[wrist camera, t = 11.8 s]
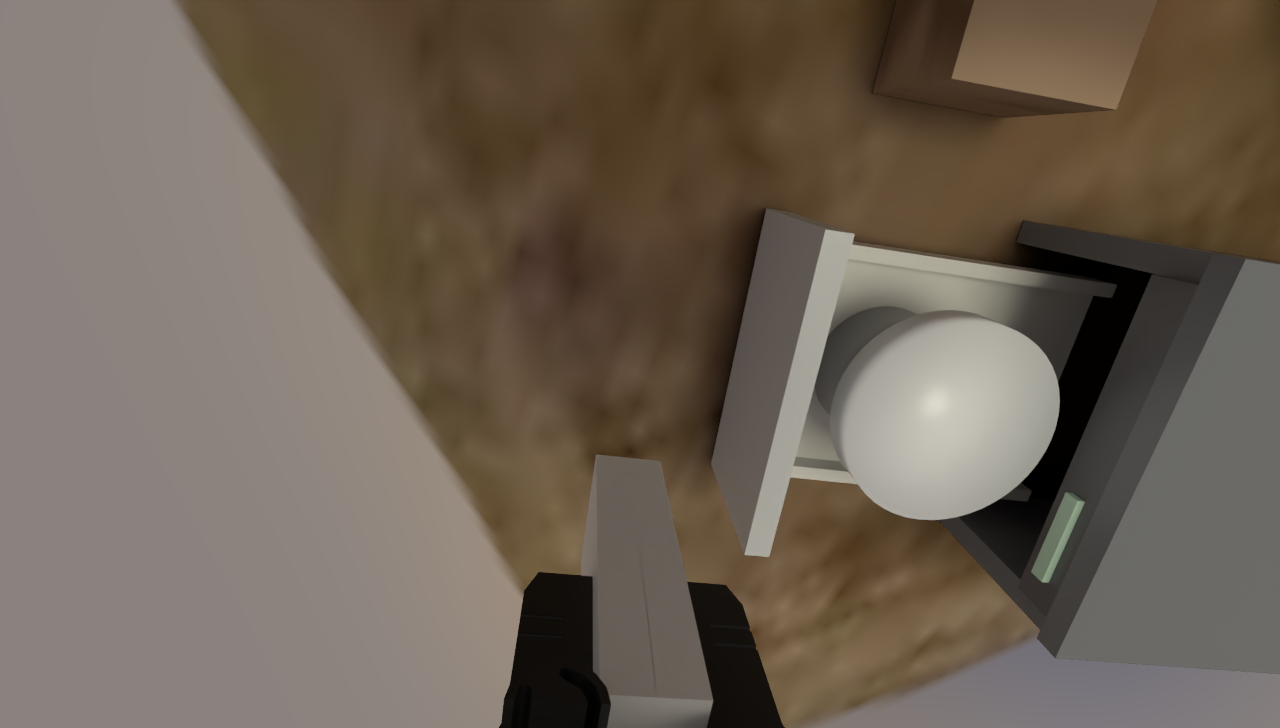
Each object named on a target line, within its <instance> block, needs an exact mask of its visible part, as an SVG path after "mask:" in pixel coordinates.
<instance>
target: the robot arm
mask: <svg viewBox="0 0 1280 728" xmlns="http://www.w3.org/2000/svg"><path fill="white" fill-rule="evenodd" d="M499 728H785V727H783V724H782V722H781V720H780V717H779V714H778V711H777V708H776V705H775V702H774V699H773V696H772V693H771V690H770V687H769V684H768V681H767V678H766V675H765V672H764V669H763V666H762V662H761V659H760V656H759V653H758V650H756V644H755V641H754V638H753V635H752V632H750V626H749V623H748V620H747V617H746V614H745V611H744V608H743V605H742V604H741V603H740V602H739V600H738V599H737V598H736V597H735V596H734V594H733V593H732V592H731V591H730V590H729V589H728V587H727V586H726V585H719V584H707V583H694V582H687V580H686V575H685V571H684V566H683V562H682V557H681V552H680V548H679V543H678V539H677V534H676V530H675V525H674V521H673V516H672V512H671V507H670V503H669V498H668V494H667V489H666V485H665V480H664V476H663V471H662V467H661V462H660V461H655V460H645V459H635V458H625V457H616V456H606V455H596V459H595V466H594V473H593V480H592V487H591V494H590V500H589V507H588V514H587V521H586V528H585V535H584V542H583V549H582V561H581V575H568V574H556V573H543V572H539V573H538V574H537V575H536V576H535V578H534V579H533V580H532V581H531V583H530V584H529V585H528V587H527V588H526V589H525V590H524V597H523V603H522V610H521V617H520V624H519V629H518V637H517V643H516V649H515V656H514V662H513V670H512V675H511V682H510V686H509V688H508V691H507V693H506V695H505V698H504V705H503V714H502V723H501V725H500V727H499Z"/></svg>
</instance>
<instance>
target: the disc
mask: <svg viewBox="0 0 1280 728" xmlns="http://www.w3.org/2000/svg"><path fill="white" fill-rule="evenodd" d="M1059 406H1060V395H1059V386H1058V381H1057V377H1056V374H1055V372H1054V369H1053V366H1052V365H1051V363H1050V361H1049V359H1048V358H1047V356H1046V355H1045V353H1044V352H1043V351H1042V350H1041V349H1040V348H1039V346H1038V345H1036V344H1035V343H1034V342H1033V341H1032V340H1031V339H1029V338H1028V337H1026V336H1025V335H1023V334H1021V333H1020V332H1018V331H1016V330H1014V329H1011V328H1009V327H1007V326H1005V325H1002V324H1000V323H998V322H996V321H993V320H991V319H989V318H986V317H984V316H981V315H979V314H975V313H971V312H966V311H957V310H942V311H933V312H928V313H923V314H919V315H916V316H913V317H910V318H907V319H905V320H903V321H901V322H898V323H896V324H894V325H893V326H891V327H889V328H888V329H886V330H884V331H883V332H881V333H880V334H879V335H877V336H876V337H875V338H873V339H872V340H871V341H870V342H869V343H868V344H867V345H866V346H864V347H863V348H862V349H861V351H860V352H859V353H858V354H857V355H856V356H855V357H854V359H853V360H852V361H851V363H850V364H849V366H848V367H847V369H846V370H845V372H844V374H843V376H842V377H841V379H840V381H839V383H838V386H837V389H836V391H835V394H834V397H833V402H832V406H831V414H830V432H831V437H832V442H833V446H834V448H835V451H836V454H837V456H838V458H839V459H840V461H841V463H842V465H843V466H844V467H845V468H846V470H847V471H848V472H849V474H850V475H851V476H852V478H853V479H854V480H855V481H856V483H857V484H858V485H859V487H860V488H861V489H862V490H863V492H864V493H865V494H866V495H867V496H868V497H869V498H870V499H871V500H872V501H873V502H875V503H876V504H878V505H879V506H881V507H882V508H884V509H886V510H888V511H890V512H892V513H894V514H897V515H900V516H903V517H907V518H913V519H918V520H941V519H949V518H954V517H959V516H963V515H966V514H969V513H972V512H975V511H977V510H980V509H982V508H984V507H986V506H988V505H990V504H992V503H994V502H996V501H997V500H999V499H1000V498H1002V497H1003V496H1005V495H1006V494H1008V493H1009V492H1010V491H1012V490H1013V489H1014V488H1015V487H1016V486H1018V485H1019V484H1020V483H1021V482H1022V481H1023V480H1024V479H1025V478H1026V477H1027V476H1028V475H1029V474H1030V472H1031V471H1032V470H1033V469H1034V468H1035V466H1036V465H1037V464H1038V462H1039V461H1040V459H1041V458H1042V456H1043V455H1044V453H1045V451H1046V449H1047V448H1048V446H1049V444H1050V442H1051V439H1052V437H1053V434H1054V431H1055V428H1056V425H1057V420H1058V416H1059Z"/></svg>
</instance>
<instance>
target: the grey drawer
mask: <svg viewBox="0 0 1280 728" xmlns="http://www.w3.org/2000/svg"><path fill="white" fill-rule="evenodd" d="M854 235H855V234H854V233H851V232H848V231H845V230H842V229H839V228H836V227H833V226H830V225H827V224H824V223H821V222H818V221H815V220H812V219H809V218H806V217H803V216H800V215H797V214H794V213H791V212H788V211H781V210H775V209H768V208H766V212H765V216H764V221H763V226H762V230H761V235H760V240H759V244H758V249H757V253H756V258H755V263H754V267H753V272H752V277H751V281H750V286H749V291H748V295H747V300H746V304H745V309H744V314H743V318H742V323H741V328H740V332H739V337H738V341H737V346H736V351H735V355H734V360H733V365H732V369H731V374H730V379H729V383H728V388H727V392H726V397H725V402H724V406H723V411H722V416H721V420H720V425H719V429H718V434H717V439H716V443H715V448H714V453H713V457H712V462H711V466H712V468H713V471H714V474H715V476H716V479H717V482H718V485H719V487H720V490H721V493H722V495H723V498H724V501H725V504H726V506H727V509H728V512H729V514H730V517H731V520H732V522H733V525H734V528H735V531H736V533H737V536H738V539H739V541H740V544H741V547H742V550H743V552H744V555H753V556H764V557H769V556H770V552H771V548H772V544H773V540H774V537H775V533H776V529H777V525H778V522H779V518H780V514H781V510H782V507H783V503H784V499H785V495H786V491H787V488H788V484H789V480H790V477H793V478H803V479H813V480H823V481H832V482H842V483H852V484H857V483H856V481H855V480H854V479H853V478H852V476H851V475H850V474H849V472H848V471H847V470H846V468H845V467H844V466H843V465H842V463H841V461H840V459H839V458H838V456H837V454H836V451H835V448H834V446H833V442H832V437H831V432H830V414H831V406H832V402H833V397H834V394H835V391H836V389H837V386H838V383H839V381H840V379H841V377H842V376H843V374H844V372H845V370H846V369H847V367H848V366H849V364H850V363H851V361H852V360H853V359H854V357H855V356H856V355H857V354H858V353H859V352H860V351H861V349H862V348H863V347H864V346H866V345H867V344H868V343H869V342H870V341H871V340H872V339H873V338H875V337H876V336H877V335H879V334H880V333H881V332H883V331H884V330H886V329H888V328H889V327H891V326H893V325H894V324H896V323H898V322H901V321H903V320H905V319H907V318H910V317H913V316H916V315H919V314H923V313H928V312H933V311H942V310H957V311H966V312H971V313H975V314H979V315H981V316H984V317H986V318H989V319H991V320H993V321H996V322H998V323H1000V324H1002V325H1005V326H1007V327H1009V328H1011V329H1014V330H1016V331H1018V332H1020V333H1021V334H1023V335H1025V336H1026V337H1028V338H1029V339H1031V340H1032V341H1033V342H1034V343H1035V344H1036V345H1038V346H1039V348H1040V349H1041V350H1042V351H1043V352H1044V353H1045V355H1046V356H1047V358H1048V359H1049V361H1050V363H1051V365H1052V366H1053V369H1054V372H1055V374H1056V377H1057V381H1058V382H1059V379H1060V377H1061V374H1062V372H1063V369H1064V367H1065V364H1066V362H1067V359H1068V357H1069V354H1070V352H1071V349H1072V347H1073V345H1074V342H1075V340H1076V337H1077V335H1078V332H1079V330H1080V327H1081V325H1082V322H1083V320H1084V317H1085V315H1086V312H1087V310H1088V307H1089V305H1090V302H1091V300H1092V298H1093V295H1094V296H1101V297H1107V298H1112V297H1113V294H1114V292H1115V289H1116V287H1117V285H1116V284H1112V283H1108V282H1105V281H1101V280H1097V279H1093V278H1089V277H1085V276H1079V275H1072V274H1066V273H1059V272H1053V271H1046V270H1040V269H1033V268H1027V267H1020V266H1013V265H1007V264H1000V263H994V262H987V261H981V260H974V259H968V258H961V257H955V256H948V255H941V254H935V253H928V252H922V251H915V250H909V249H902V248H896V247H889V246H883V245H876V244H869V243H863V242H856V241H853V239H854ZM1031 492H1032V491H1031V490H1030V489H1028V488H1027V487H1026V486H1025V485H1023V484H1022V483H1020V484H1019V485H1018V486H1016V487H1015V488H1014V489H1013V490H1012V491H1010V492H1009V493H1008V494H1006V495H1005V496H1003V497H1002V498H1000V499H1007V500H1016V501H1026V502H1028V499H1029V497H1030V494H1031Z"/></svg>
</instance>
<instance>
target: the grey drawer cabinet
mask: <svg viewBox="0 0 1280 728" xmlns="http://www.w3.org/2000/svg"><path fill="white" fill-rule="evenodd" d="M1016 243H1021V244H1025V245H1030V246H1034V247H1038V248H1043V249H1047V250H1052V251H1056V252H1060V253H1065V254H1069V255H1074V256H1078V257H1082V258H1087V259H1091V260H1096V261H1100V262H1104V263H1109V264H1113V265H1118V266H1122V267H1126V268H1131V269H1135V270H1140V271H1144V272H1148V273H1153V274H1157V275H1153V274H1152V276H1151V278H1150V280H1149V282H1148V285H1147V287H1146V289H1145V292H1144V294H1143V296H1142V299H1141V301H1140V303H1139V306H1138V308H1137V310H1136V313H1135V315H1134V317H1133V320H1132V322H1131V324H1130V327H1129V329H1128V331H1127V334H1126V336H1125V338H1124V341H1123V343H1122V345H1121V347H1120V350H1119V352H1118V354H1117V357H1116V359H1115V361H1114V364H1113V366H1112V368H1111V371H1110V373H1109V375H1108V378H1107V380H1106V382H1105V385H1104V387H1103V389H1102V392H1101V394H1100V396H1099V399H1098V401H1097V403H1096V406H1095V408H1094V410H1093V412H1092V415H1091V417H1090V419H1089V422H1088V424H1087V426H1086V429H1085V431H1084V433H1083V436H1082V438H1081V440H1080V443H1079V445H1078V447H1077V450H1076V452H1075V454H1074V457H1073V459H1072V461H1071V464H1070V466H1069V468H1068V470H1067V473H1066V475H1065V477H1064V480H1063V482H1062V484H1061V487H1060V489H1059V491H1058V494H1057V496H1056V498H1055V501H1052V500H1043V499H1033V498H1029V499H1028V502H1026V501H1016V500H1007V499H999V500H997V501H996V502H994V503H992V504H990V505H988V506H986V507H984V508H982V509H980V510H977V511H975V512H972V513H969V514H966V515H963V516H959V517H954V518H949V519H941V520H939V521H940V522H941V523H942V524H943V525H944V526H945V527H946V528H947V529H948V531H949V532H950V533H951V534H952V535H953V536H954V537H955V538H956V539H957V540H958V541H959V542H960V544H961V545H962V546H963V547H964V548H965V549H966V550H967V551H968V552H969V553H970V554H971V555H972V557H973V558H974V559H975V560H976V561H977V562H978V563H979V564H980V565H981V566H982V567H983V568H984V570H985V571H986V572H987V573H988V574H989V575H990V576H991V577H992V578H993V579H994V580H995V581H996V583H997V584H998V585H999V586H1000V587H1001V588H1002V589H1003V590H1004V591H1005V592H1006V593H1007V594H1008V596H1009V597H1010V598H1011V599H1012V600H1013V601H1014V602H1015V603H1016V604H1017V605H1018V606H1019V607H1020V609H1021V610H1022V611H1023V612H1024V613H1025V614H1026V615H1027V616H1028V617H1029V618H1030V619H1031V620H1032V622H1033V623H1034V624H1035V625H1036V626H1037V627H1038V628H1039V629H1040V632H1039V634H1038V637H1037V639H1038V640H1039V641H1040V642H1041V643H1042V644H1043V645H1044V647H1046V649H1047V650H1048V651H1049V652H1050V653H1051V654H1052V655H1053V656H1054V658H1057V659H1071V660H1086V661H1101V662H1114V663H1128V664H1142V665H1157V666H1171V667H1185V668H1199V669H1200V668H1201V669H1214V670H1229V671H1243V672H1257V673H1271V674H1280V262H1276V261H1270V260H1264V259H1257V258H1251V257H1245V256H1239V255H1233V254H1227V253H1221V252H1214V251H1208V250H1202V249H1196V248H1190V247H1184V246H1178V245H1171V244H1165V243H1159V242H1153V241H1147V240H1141V239H1135V238H1128V237H1122V236H1116V235H1110V234H1104V233H1098V232H1092V231H1085V230H1079V229H1073V228H1067V227H1061V226H1055V225H1049V224H1042V223H1036V222H1030V221H1023V224H1022V227H1021V230H1020V232H1019V235H1018V238H1017V241H1016ZM1160 275H1162V276H1160Z"/></svg>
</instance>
